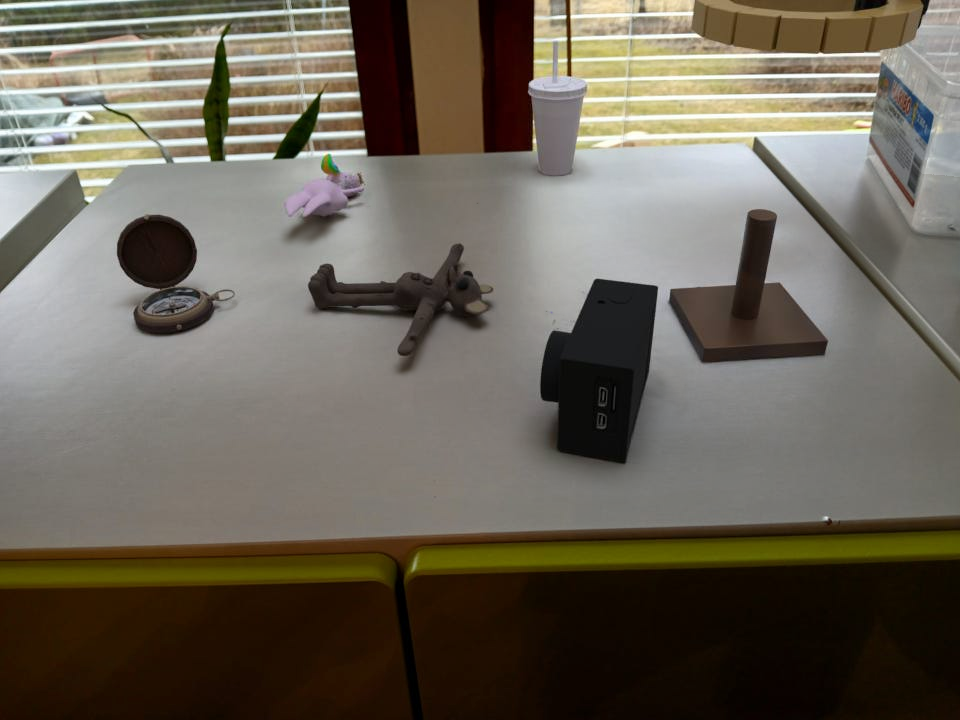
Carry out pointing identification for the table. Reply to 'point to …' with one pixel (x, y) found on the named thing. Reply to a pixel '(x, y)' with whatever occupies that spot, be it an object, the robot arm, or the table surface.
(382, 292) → the bear figurine
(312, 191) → the rabbit figure
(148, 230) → the compass
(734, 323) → the brown peg stand
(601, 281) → the digital camera
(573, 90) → the smoothie
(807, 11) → the block ring
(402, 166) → the table surface
